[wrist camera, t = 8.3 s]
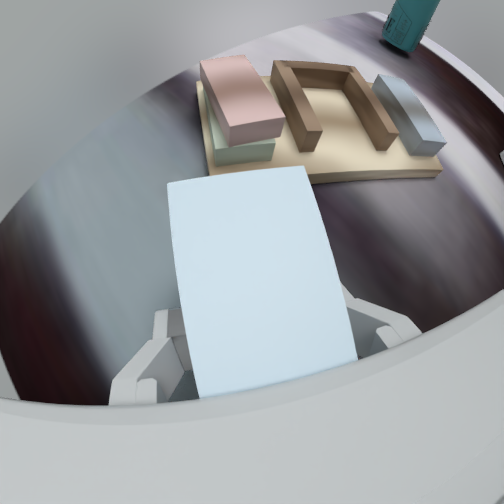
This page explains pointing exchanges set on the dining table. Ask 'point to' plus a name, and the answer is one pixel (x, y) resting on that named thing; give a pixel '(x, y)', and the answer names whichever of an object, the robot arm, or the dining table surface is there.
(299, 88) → the block display stand
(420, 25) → the beverage bottle
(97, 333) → the dining table surface
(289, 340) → the pale blue upright box
